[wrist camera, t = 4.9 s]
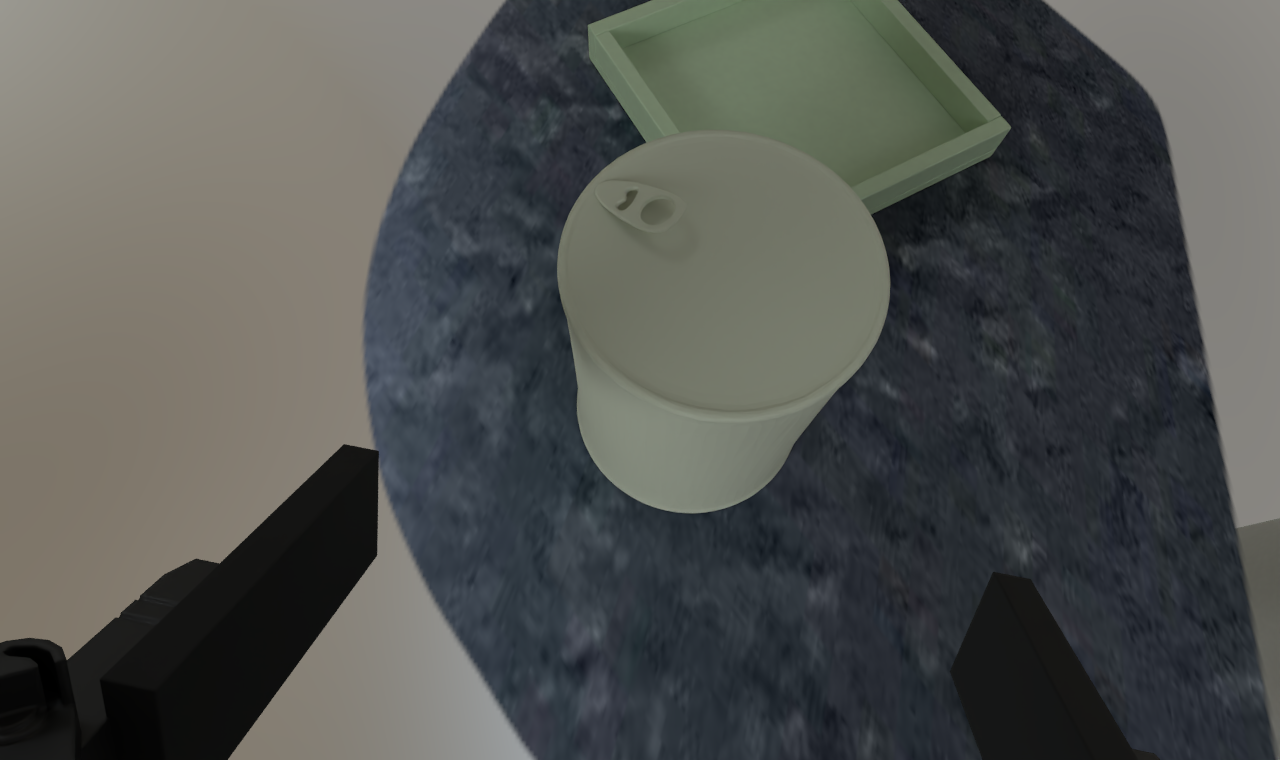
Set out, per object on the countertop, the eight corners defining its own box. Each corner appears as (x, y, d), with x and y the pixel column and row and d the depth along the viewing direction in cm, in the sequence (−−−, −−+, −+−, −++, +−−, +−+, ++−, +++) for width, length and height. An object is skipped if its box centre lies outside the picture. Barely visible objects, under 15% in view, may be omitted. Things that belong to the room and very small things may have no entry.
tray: (991, 156, 36) (1012, 127, 34) (738, 279, 33) (746, 254, 31) (824, -35, 40) (834, -71, 38) (588, 58, 37) (587, 24, 35)
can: (656, 270, 33) (676, 65, 22) (836, 378, 31) (957, 216, 20) (532, 431, 30) (481, 290, 19) (723, 560, 28) (791, 489, 17)
